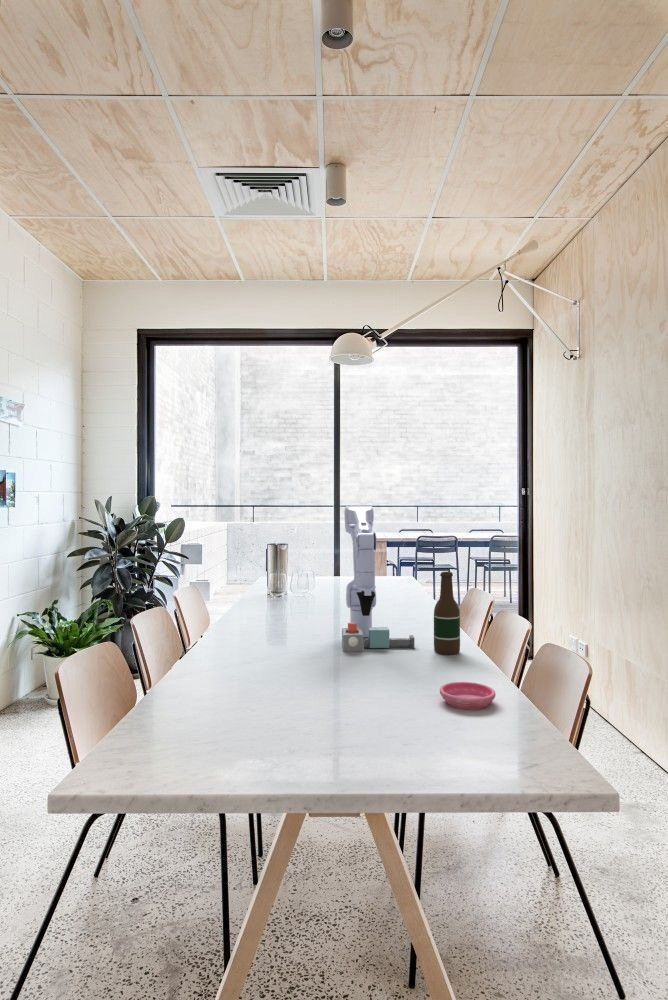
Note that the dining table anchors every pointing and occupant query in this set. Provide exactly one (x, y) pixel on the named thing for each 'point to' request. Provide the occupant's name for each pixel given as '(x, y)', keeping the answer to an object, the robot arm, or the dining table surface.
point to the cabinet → (352, 640)
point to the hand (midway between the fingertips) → (365, 615)
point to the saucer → (467, 695)
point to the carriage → (379, 637)
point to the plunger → (352, 627)
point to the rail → (397, 642)
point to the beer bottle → (446, 619)
